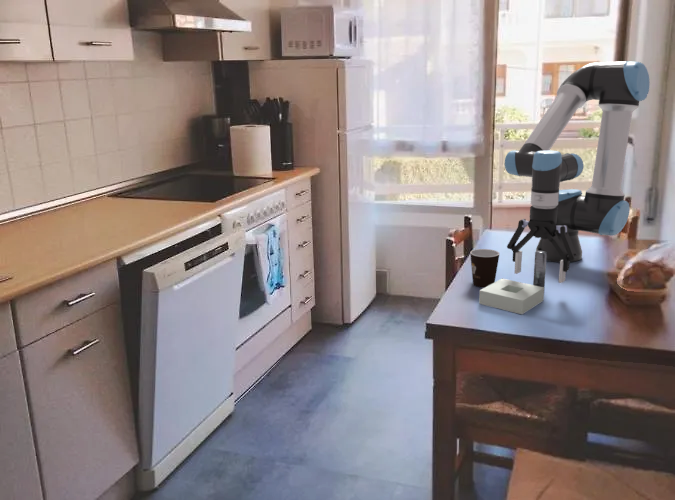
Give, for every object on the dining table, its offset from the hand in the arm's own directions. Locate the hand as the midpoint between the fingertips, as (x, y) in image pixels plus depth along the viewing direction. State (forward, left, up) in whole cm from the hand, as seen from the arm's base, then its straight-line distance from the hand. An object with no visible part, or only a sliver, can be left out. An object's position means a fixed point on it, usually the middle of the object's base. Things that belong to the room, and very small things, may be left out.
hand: (539, 277), depth 184 cm
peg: (0, 0, -4) cm, 4 cm away
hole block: (+13, -2, -4) cm, 14 cm away
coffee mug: (+3, -17, -5) cm, 17 cm away
